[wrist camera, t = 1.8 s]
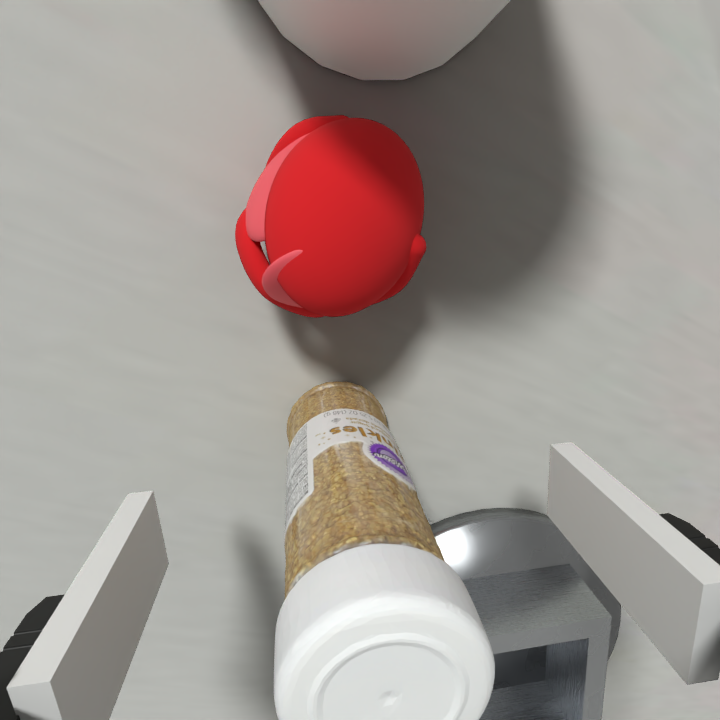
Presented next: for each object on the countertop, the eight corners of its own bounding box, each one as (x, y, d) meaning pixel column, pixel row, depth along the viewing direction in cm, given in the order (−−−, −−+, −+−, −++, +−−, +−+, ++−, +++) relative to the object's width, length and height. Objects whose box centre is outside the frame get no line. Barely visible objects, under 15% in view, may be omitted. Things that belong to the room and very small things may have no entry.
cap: (333, 379, 18) (472, 309, 15) (196, 292, 15) (337, 176, 12) (345, 241, 23) (453, 165, 20) (244, 151, 20) (353, 41, 16)
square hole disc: (355, 752, 28) (366, 848, 24) (334, 529, 24) (343, 597, 20) (599, 707, 30) (650, 789, 25) (620, 490, 25) (686, 545, 21)
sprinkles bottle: (399, 397, 22) (542, 636, 10) (361, 481, 23) (444, 802, 10) (306, 363, 21) (325, 580, 9) (270, 453, 22) (238, 769, 9)
